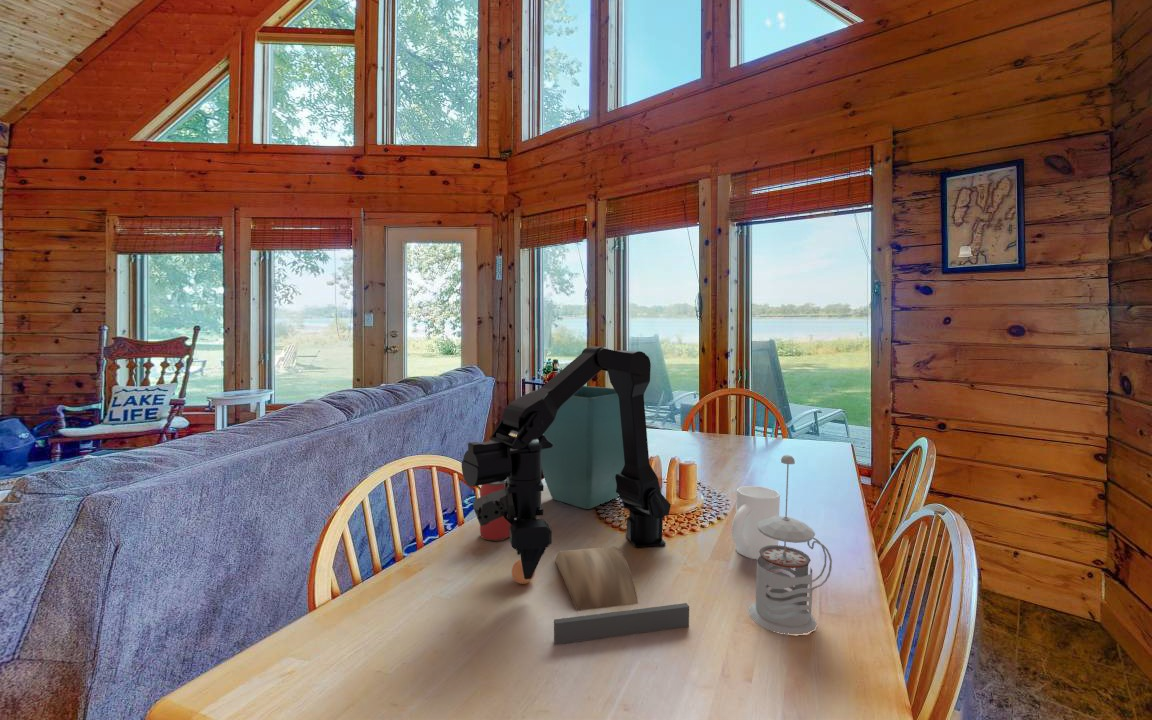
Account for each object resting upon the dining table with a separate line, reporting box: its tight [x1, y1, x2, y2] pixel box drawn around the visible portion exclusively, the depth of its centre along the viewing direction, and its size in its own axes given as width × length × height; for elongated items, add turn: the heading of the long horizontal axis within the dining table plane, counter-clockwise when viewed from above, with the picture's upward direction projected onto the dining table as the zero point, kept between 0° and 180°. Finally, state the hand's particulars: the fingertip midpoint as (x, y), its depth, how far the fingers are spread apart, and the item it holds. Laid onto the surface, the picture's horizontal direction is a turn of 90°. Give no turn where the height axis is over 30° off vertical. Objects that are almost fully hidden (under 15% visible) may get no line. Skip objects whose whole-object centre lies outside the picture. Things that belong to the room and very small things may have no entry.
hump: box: [554, 546, 639, 612], centre depth 87 cm, size 10×22×22 cm, turn 14°
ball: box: [511, 558, 536, 585], centre depth 86 cm, size 4×4×4 cm
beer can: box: [479, 477, 511, 542], centre depth 105 cm, size 7×7×12 cm
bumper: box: [553, 602, 690, 645], centre depth 72 cm, size 20×1×3 cm, turn 104°
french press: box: [748, 454, 833, 634], centre depth 76 cm, size 10×12×25 cm
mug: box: [731, 485, 781, 561], centre depth 98 cm, size 8×12×12 cm
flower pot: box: [531, 385, 625, 510], centre depth 129 cm, size 20×20×28 cm
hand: (523, 565), depth 86 cm, fingers open, 9 cm apart
